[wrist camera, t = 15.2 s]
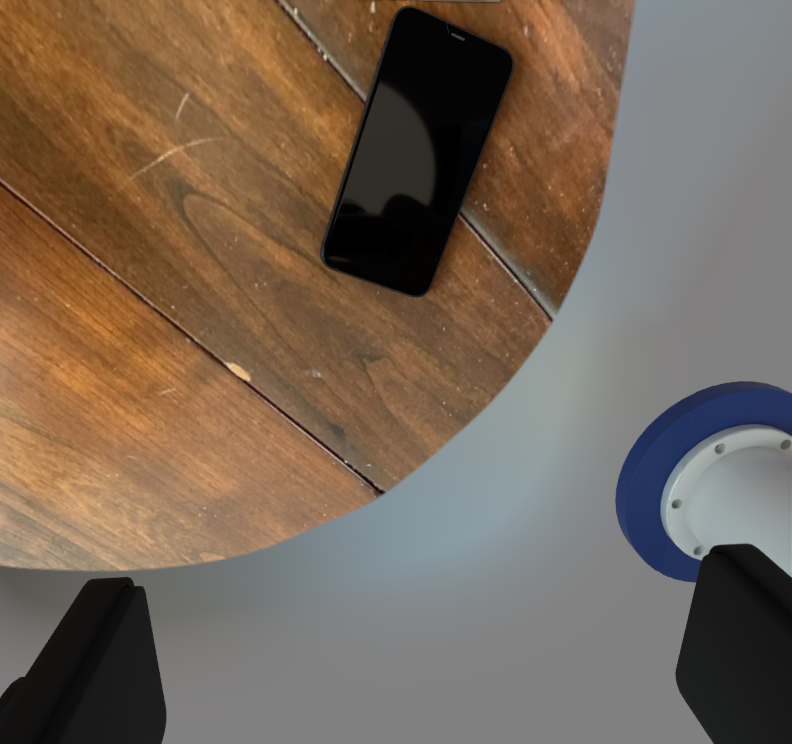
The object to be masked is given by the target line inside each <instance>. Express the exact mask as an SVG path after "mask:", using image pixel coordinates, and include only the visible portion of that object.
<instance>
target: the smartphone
mask: <svg viewBox="0 0 792 744" xmlns="http://www.w3.org/2000/svg"><path fill="white" fill-rule="evenodd" d="M513 69H514V60H513V57H512V55H511V54H510V52H509V51H508V50H507V49H505V48H504V47H502V46H500V45H497V44H495V43H493V42H491V41H489V40H487V39H485V38H483V37H480V36H478V35H476V34H474V33H472V32H470V31H468V30H465V29H463V28H461V27H459V26H457V25H455V24H453V23H450V22H448V21H446V20H444V19H442V18H440V17H437V16H435V15H433V14H431V13H429V12H427V11H424V10H422V9H420V8H418V7H415V6H404V7H402V8H400V9H399V10H398V11H397V12H396V14H395V15H394V17H393V19H392V22H391V25H390V28H389V31H388V34H387V37H386V41H385V42H384V45H383V49H382V53H381V57H380V60H379V61H378V64H377V68H376V71H375V74H374V77H373V82H372V85H371V87H370V90H369V93H368V96H367V100H366V105H365V108H364V111H363V114H362V117H361V121H360V124H359V127H358V130H357V133H356V137H355V140H354V143H353V146H352V149H351V152H350V156H349V159H348V162H347V165H346V168H345V172H344V175H343V178H342V181H341V184H340V188H339V191H338V194H337V197H336V200H335V204H334V207H333V210H332V213H331V216H330V220H329V223H328V226H327V229H326V232H325V236H324V239H323V242H322V245H321V250H320V257H321V260H322V262H323V264H324V265H325V266H326V267H328V268H329V269H332V270H334V271H337V272H340V273H343V274H346V275H348V276H351V277H354V278H357V279H360V280H363V281H366V282H369V283H372V284H375V285H378V286H380V287H383V288H386V289H389V290H392V291H395V292H398V293H401V294H404V295H407V296H410V297H421V296H424V295H425V294H426V293H427V292H428V291H429V290H430V288H431V286H432V283H433V281H434V278H435V276H436V273H437V270H438V268H439V265H440V262H441V260H442V257H443V255H444V252H445V249H446V247H447V244H448V242H449V239H450V236H451V234H452V231H453V228H454V226H455V223H456V221H457V218H458V215H459V213H460V210H461V208H462V205H463V202H464V200H465V197H466V194H467V192H468V189H469V186H470V184H471V181H472V179H473V176H474V174H475V171H476V168H477V166H478V163H479V160H480V158H481V155H482V153H483V150H484V147H485V145H486V144H487V141H488V138H489V136H490V133H491V131H492V128H493V125H494V123H495V120H496V116H497V113H498V111H499V108H500V106H501V103H502V100H503V98H504V95H505V92H506V90H507V87H508V85H509V82H510V79H511V77H512V73H513Z"/></svg>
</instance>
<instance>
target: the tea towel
mask: <svg viewBox="0 0 792 744" xmlns="http://www.w3.org/2000/svg"><path fill="white" fill-rule="evenodd" d="M408 1H455V2H499V1H500V0H408Z"/></svg>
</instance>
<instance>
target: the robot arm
mask: <svg viewBox="0 0 792 744" xmlns="http://www.w3.org/2000/svg"><path fill="white" fill-rule="evenodd" d="M660 514H661V519H662V524H663V527H664V529H665V531H666V533H667V535H668V536H669V537H670V539H671V540H672V541H673V542H674V543H675V544H676V545H677V546H678V547H679V548H680V549H681V550H682V551H683V552H684V553H686V554H687V555H689V556H691V557H693V558H695V559H699V560H702V561H701V565H700V569H699V573H698V577H697V582H696V586H695V590H694V595H693V599H692V603H691V608H690V612H689V616H688V621H687V625H686V629H685V633H684V638H683V642H682V646H681V650H680V655H679V659H678V663H677V668H676V682H677V685H678V688H679V691H680V693H681V695H682V696H683V698H684V699H685V701H686V703H687V704H688V706H689V707H690V709H691V710H692V712H693V713H694V714H695V716H696V718H697V719H698V721H699V722H700V724H701V725H702V727H703V728H704V730H705V731H706V733H707V734H708V736H709V737H710V739H711V740H712V742H713V743H714V744H792V436H791V435H789V434H787V433H785V432H784V431H782V430H780V429H777V428H774V427H771V426H768V425H760V424H747V425H739V426H735V427H731V428H727V429H724V430H722V431H720V432H717V433H715V434H713V435H711V436H709V437H708V438H706V439H704V440H703V441H701V442H699V443H698V444H697V445H696V446H695V447H693V448H692V449H691V450H690V451H689V452H687V453H686V455H685V456H684V457H683V458H682V459H681V460H680V461H679V462H678V463H677V465H676V466H675V468H674V470H673V471H672V473H671V474H670V476H669V478H668V480H667V482H666V485H665V487H664V489H663V494H662V498H661V510H660ZM165 727H166V706H165V701H164V695H163V690H162V683H161V678H160V672H159V667H158V661H157V655H156V649H155V644H154V638H153V632H152V627H151V621H150V616H149V610H148V605H147V599H146V593H145V589H144V588H143V587H142V586H134V583H133V581H132V579H131V578H129V577H120V578H102V579H91V580H89V581H88V582H87V583H86V584H85V585H84V586H83V588H82V590H81V591H80V593H79V594H78V596H77V597H76V599H75V600H74V602H73V603H72V605H71V606H70V608H69V609H68V611H67V613H66V614H65V616H64V617H63V619H62V620H61V622H60V623H59V625H58V626H57V628H56V630H55V631H54V633H53V634H52V636H51V637H50V639H49V640H48V642H47V643H46V645H45V647H44V648H43V650H42V651H41V653H40V654H39V656H38V658H37V659H36V660H35V662H34V664H33V665H32V667H31V668H30V670H29V671H28V673H27V674H26V676H25V677H20V678H19V679H17V680H16V681H14V682H13V683H12V684H11V685H10V686H9V687H8V688H7V690H6V691H5V692H4V693H3V695H2V696H1V698H0V744H161V743H162V740H163V736H164V732H165Z"/></svg>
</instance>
